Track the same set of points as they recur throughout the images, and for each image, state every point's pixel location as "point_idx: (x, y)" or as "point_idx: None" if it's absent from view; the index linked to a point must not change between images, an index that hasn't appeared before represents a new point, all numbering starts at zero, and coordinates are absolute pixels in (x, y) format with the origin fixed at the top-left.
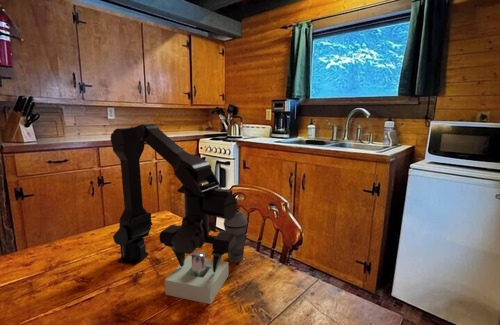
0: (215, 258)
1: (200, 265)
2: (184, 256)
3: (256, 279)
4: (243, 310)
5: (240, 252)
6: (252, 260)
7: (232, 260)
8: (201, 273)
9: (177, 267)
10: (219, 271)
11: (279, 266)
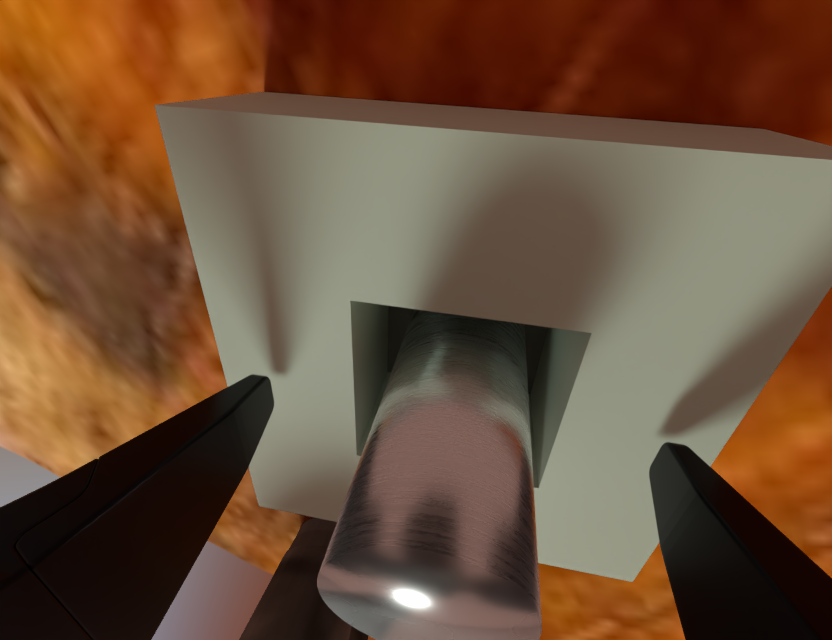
0: (33, 524)
1: (385, 436)
2: (675, 582)
3: (141, 398)
4: (4, 84)
5: (271, 583)
6: (250, 528)
7: None
8: (402, 365)
9: (725, 437)
10: None
11: None
